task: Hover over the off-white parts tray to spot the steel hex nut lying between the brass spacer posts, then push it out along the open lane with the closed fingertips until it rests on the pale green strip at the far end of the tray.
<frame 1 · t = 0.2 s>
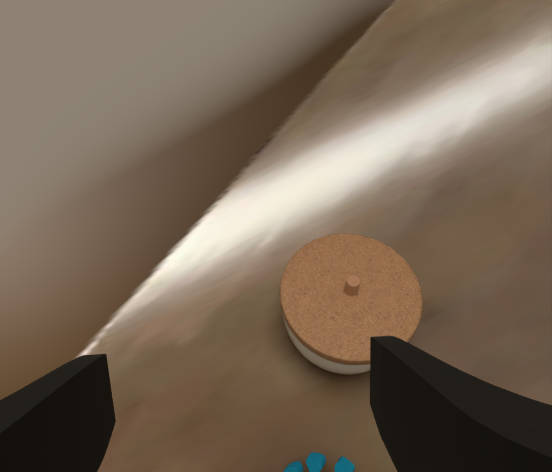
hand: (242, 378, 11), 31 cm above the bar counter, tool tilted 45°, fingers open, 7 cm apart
lidded bowl: (339, 330, 45), on the bar counter
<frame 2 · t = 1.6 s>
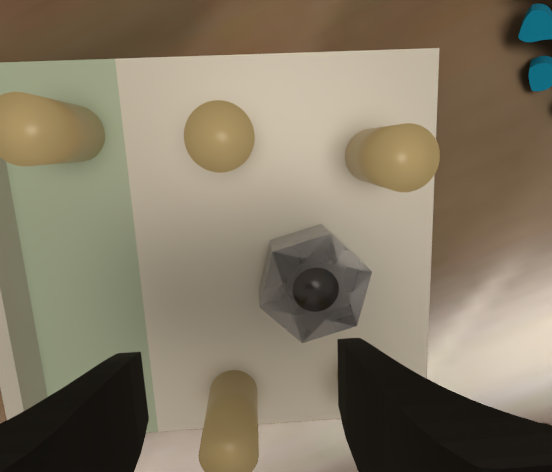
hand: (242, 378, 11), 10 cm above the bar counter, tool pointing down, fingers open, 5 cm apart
tray: (225, 253, 21), on the bar counter
nut: (308, 274, 20), point 1 cm above the bar counter, touching tray
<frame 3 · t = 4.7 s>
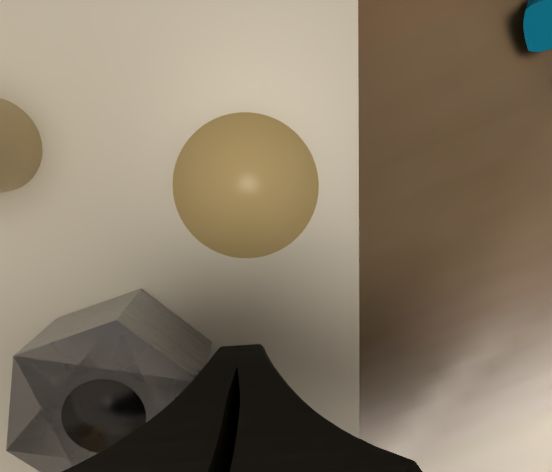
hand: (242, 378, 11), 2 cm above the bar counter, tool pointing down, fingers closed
tray: (30, 328, 13), on the bar counter
nut: (130, 369, 12), point 1 cm above the bar counter, touching gripper, tray
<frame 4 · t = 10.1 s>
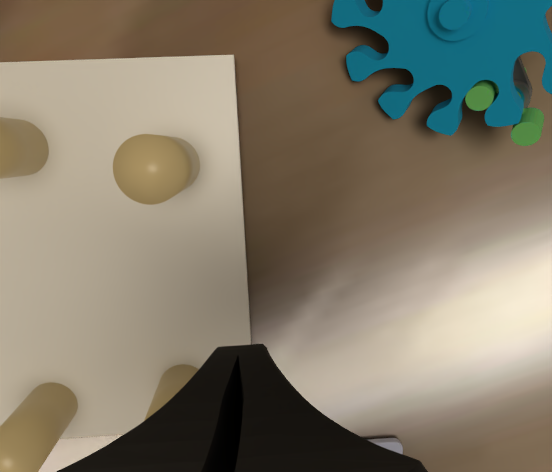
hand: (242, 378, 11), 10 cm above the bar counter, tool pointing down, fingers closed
tray: (40, 263, 20), on the bar counter
gear: (425, 43, 19), on the bar counter
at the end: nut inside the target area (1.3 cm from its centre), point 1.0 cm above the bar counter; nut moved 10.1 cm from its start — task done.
